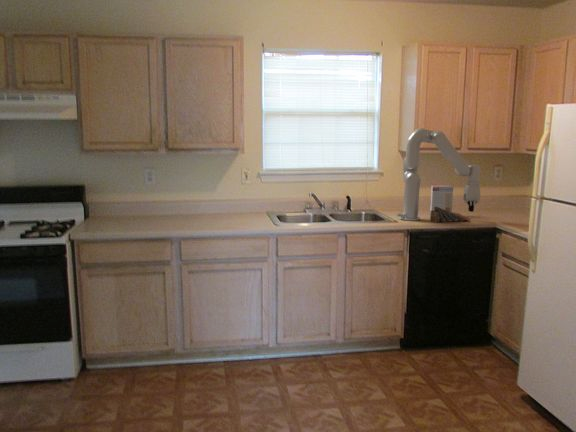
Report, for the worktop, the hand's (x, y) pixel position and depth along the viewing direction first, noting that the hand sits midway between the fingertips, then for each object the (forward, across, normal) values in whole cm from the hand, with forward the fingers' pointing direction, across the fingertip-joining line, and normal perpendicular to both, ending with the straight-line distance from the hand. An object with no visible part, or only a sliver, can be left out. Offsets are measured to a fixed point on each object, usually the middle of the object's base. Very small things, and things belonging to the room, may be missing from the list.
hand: (470, 211), depth 337 cm
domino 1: (+6, +21, 0) cm, 22 cm away
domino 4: (+6, +7, 0) cm, 9 cm away
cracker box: (+6, +9, -22) cm, 25 cm away
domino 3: (+6, +12, 0) cm, 13 cm away
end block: (+6, +26, 0) cm, 27 cm away
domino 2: (+6, +16, 0) cm, 17 cm away
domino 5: (+6, +2, 0) cm, 6 cm away
